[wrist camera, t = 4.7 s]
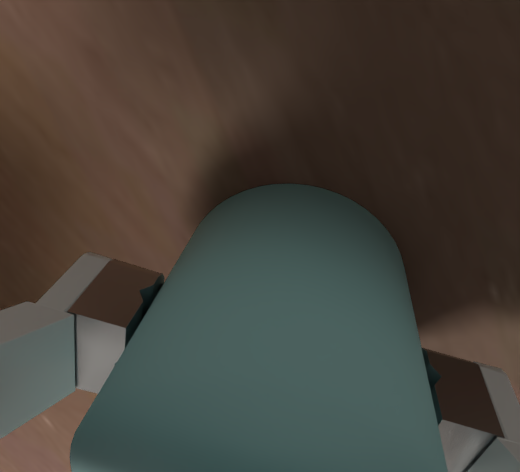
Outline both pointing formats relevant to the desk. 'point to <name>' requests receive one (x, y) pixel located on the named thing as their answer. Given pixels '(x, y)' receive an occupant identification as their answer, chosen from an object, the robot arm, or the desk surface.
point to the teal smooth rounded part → (272, 351)
